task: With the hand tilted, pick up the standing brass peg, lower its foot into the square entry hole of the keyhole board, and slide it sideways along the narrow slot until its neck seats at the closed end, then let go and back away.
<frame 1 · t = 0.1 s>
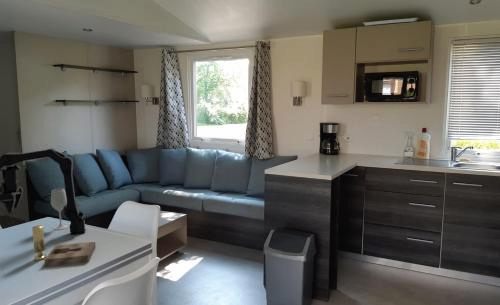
hand: (12, 210, 178), 15 cm above the table, tool pointing down, fingers open, 9 cm apart
keyhole board: (70, 256, 158), on the table
peg: (40, 258, 156), on the table
wineglass: (61, 228, 197), on the table
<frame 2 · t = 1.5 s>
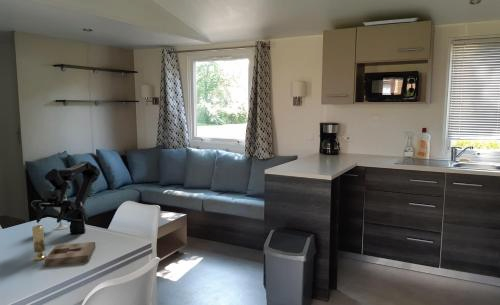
hand: (47, 222, 163), 13 cm above the table, tool tilted 45°, fingers open, 9 cm apart
nothing on the table moved.
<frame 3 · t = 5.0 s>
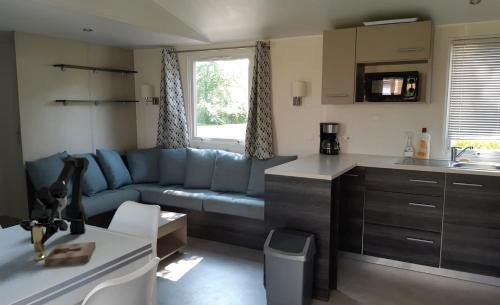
hand: (37, 243, 154), 7 cm above the table, tool tilted 45°, fingers closed on peg, 4 cm apart
peg: (40, 258, 156), on the table, touching gripper
everything else where it was.
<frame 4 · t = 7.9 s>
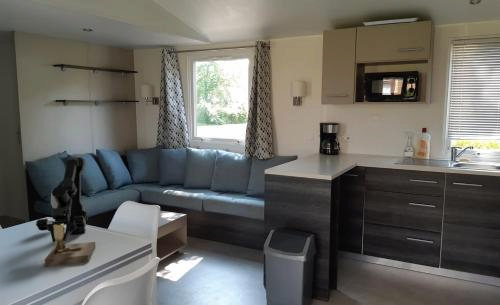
hand: (58, 241, 155), 8 cm above the table, tool tilted 45°, fingers closed on peg, 4 cm apart
peg: (61, 256, 157), point 1 cm above the table, touching gripper
everything else where it was.
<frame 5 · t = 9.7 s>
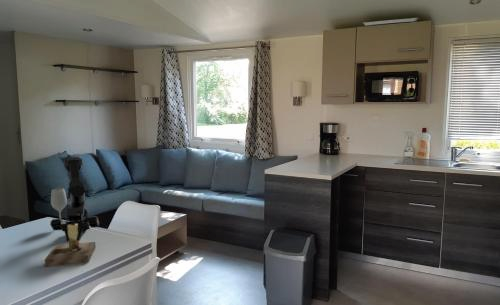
hand: (73, 241, 156), 7 cm above the table, tool tilted 45°, fingers closed on peg, 4 cm apart
peg: (74, 255, 158), resting in keyhole board, touching gripper
everything else where it was.
when the fingers open (7 cm above the table, at t = 11.0 s): peg stays where it is, resting in keyhole board.
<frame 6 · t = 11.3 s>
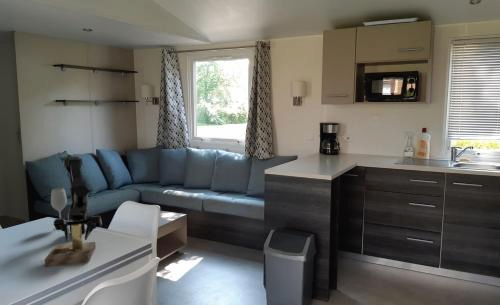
hand: (76, 240, 156), 7 cm above the table, tool tilted 45°, fingers open, 7 cm apart
peg: (78, 256, 158), resting in keyhole board
everything else where it was.
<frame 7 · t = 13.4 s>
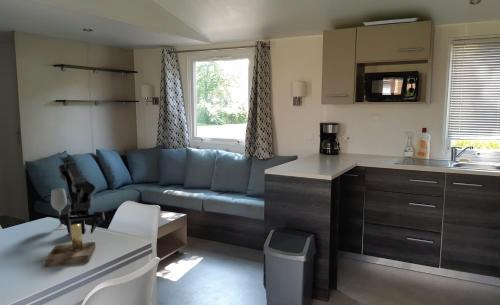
hand: (80, 234, 164), 7 cm above the table, tool tilted 45°, fingers open, 9 cm apart
nothing on the table moved.
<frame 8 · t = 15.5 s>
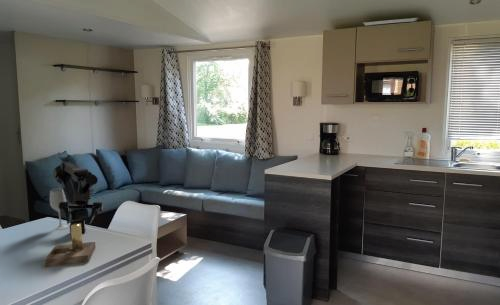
hand: (78, 224, 169), 11 cm above the table, tool tilted 40°, fingers open, 9 cm apart
wineglass: (61, 228, 197), on the table, touching arm
everything else where it was.
at the end: peg 0.3 cm from the target spot on the keyhole board, point 0.0 cm above the keyhole board's base; peg tilted 0°; the gripper is holding nothing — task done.
